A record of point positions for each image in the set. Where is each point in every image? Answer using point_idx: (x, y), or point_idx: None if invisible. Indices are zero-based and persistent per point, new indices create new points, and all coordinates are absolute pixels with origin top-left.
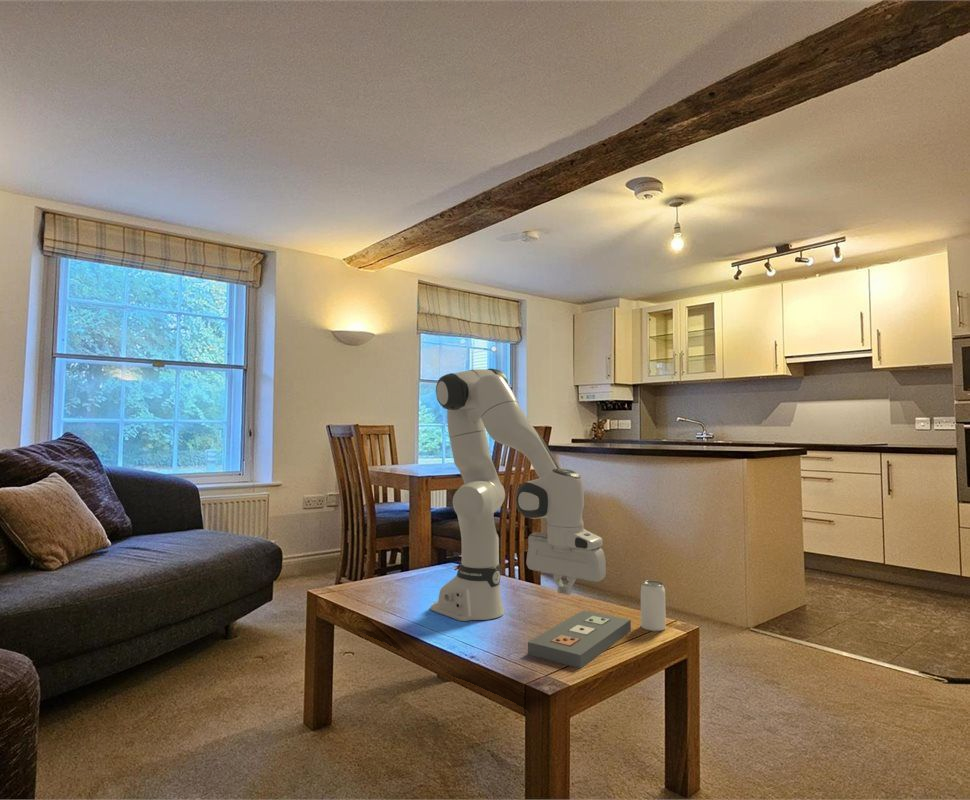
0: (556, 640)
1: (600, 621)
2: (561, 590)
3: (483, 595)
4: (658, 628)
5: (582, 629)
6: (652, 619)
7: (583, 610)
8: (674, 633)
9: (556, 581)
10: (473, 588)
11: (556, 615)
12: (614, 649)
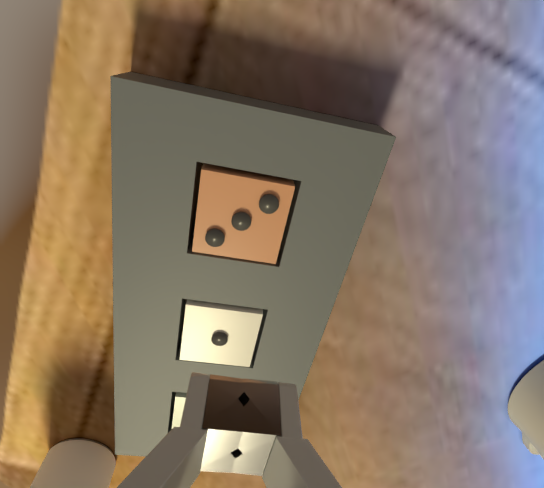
0: (273, 195)
1: None
2: (257, 398)
3: None
4: (53, 449)
5: (215, 334)
6: (55, 472)
7: None
8: (16, 445)
9: (320, 482)
10: None
11: (354, 439)
12: (104, 295)
